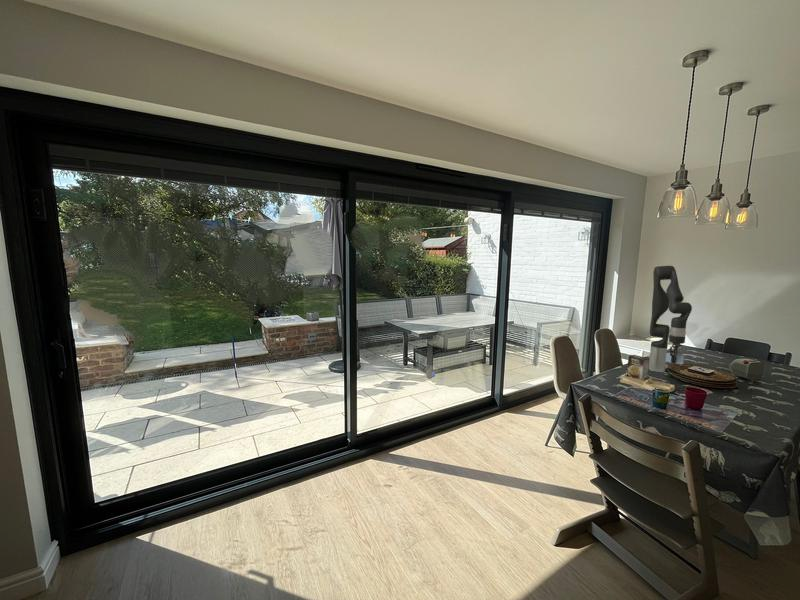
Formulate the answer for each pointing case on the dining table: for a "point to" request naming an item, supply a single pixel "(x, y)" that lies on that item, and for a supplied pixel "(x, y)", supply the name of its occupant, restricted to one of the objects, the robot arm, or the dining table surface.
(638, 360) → the coffee box
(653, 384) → the jig
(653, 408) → the dining table surface
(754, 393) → the dining table surface
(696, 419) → the dining table surface
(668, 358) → the wing block
